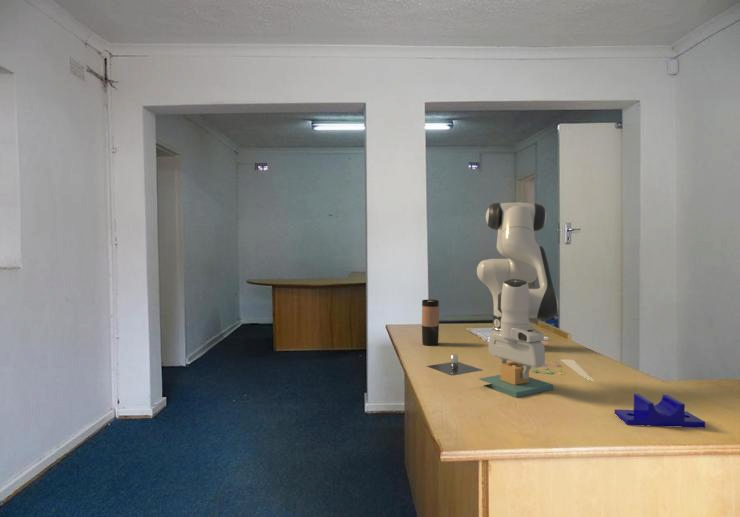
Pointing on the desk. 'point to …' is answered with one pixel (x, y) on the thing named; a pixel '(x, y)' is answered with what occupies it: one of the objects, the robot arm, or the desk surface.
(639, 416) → the mounting bracket
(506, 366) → the collar
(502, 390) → the hub plate
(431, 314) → the travel mug
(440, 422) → the desk surface
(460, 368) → the stand
